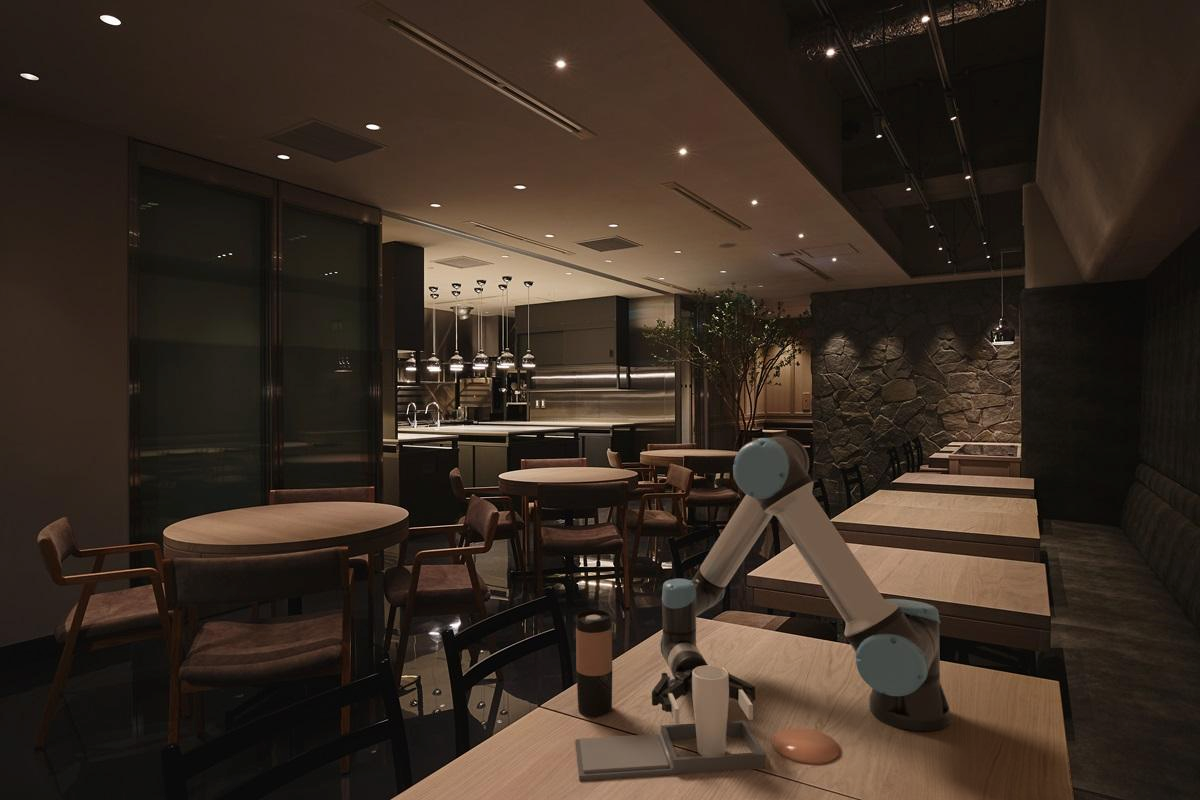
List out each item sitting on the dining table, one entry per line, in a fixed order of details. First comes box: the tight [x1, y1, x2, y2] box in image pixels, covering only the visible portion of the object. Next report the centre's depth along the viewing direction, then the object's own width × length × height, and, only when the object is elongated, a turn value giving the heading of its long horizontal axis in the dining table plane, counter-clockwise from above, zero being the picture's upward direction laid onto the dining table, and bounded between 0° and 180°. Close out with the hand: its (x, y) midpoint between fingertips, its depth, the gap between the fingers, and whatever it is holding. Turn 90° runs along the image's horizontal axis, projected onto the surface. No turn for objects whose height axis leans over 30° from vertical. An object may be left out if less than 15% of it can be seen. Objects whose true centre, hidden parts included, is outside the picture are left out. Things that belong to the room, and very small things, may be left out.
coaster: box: [771, 727, 840, 765], centre depth 128 cm, size 12×12×1 cm
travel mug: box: [575, 609, 613, 718], centre depth 144 cm, size 8×8×20 cm
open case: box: [574, 720, 767, 781], centre depth 126 cm, size 33×13×2 cm, turn 95°
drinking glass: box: [691, 664, 730, 756], centre depth 126 cm, size 7×7×15 cm
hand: (714, 714), depth 123 cm, fingers open, 13 cm apart
